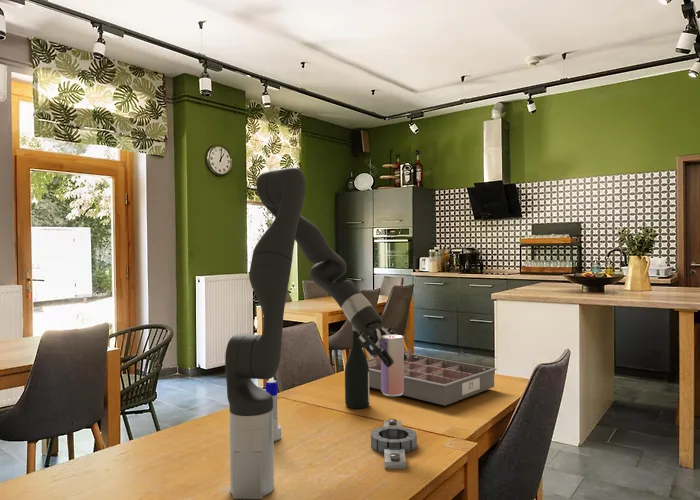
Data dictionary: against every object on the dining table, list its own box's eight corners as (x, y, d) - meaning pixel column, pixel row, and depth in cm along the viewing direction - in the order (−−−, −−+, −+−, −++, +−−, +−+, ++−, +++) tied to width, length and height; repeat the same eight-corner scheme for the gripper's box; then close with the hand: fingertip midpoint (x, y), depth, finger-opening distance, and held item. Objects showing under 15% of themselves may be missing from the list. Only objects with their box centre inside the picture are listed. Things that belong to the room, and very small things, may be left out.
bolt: (284, 439, 142) (267, 443, 139) (276, 434, 146) (259, 437, 143) (283, 382, 142) (266, 384, 139) (276, 378, 146) (259, 380, 143)
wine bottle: (360, 400, 177) (359, 312, 176) (374, 406, 170) (373, 314, 170) (340, 404, 172) (339, 314, 172) (353, 411, 166) (352, 316, 165)
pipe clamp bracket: (420, 469, 122) (420, 456, 122) (370, 468, 122) (369, 455, 122) (412, 426, 151) (412, 416, 151) (372, 426, 151) (371, 415, 151)
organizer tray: (445, 411, 165) (445, 379, 165) (355, 388, 194) (355, 361, 194) (497, 390, 188) (497, 363, 188) (410, 372, 216) (409, 348, 216)
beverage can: (377, 395, 135) (377, 337, 135) (386, 389, 141) (386, 333, 140) (398, 398, 133) (398, 339, 132) (407, 392, 138) (407, 335, 138)
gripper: (352, 307, 135) (391, 359, 128) (384, 302, 147) (421, 349, 139) (336, 326, 139) (373, 377, 131) (368, 319, 150) (404, 366, 143)
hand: (397, 362), depth 135 cm, fingers closed on beverage can, 6 cm apart
